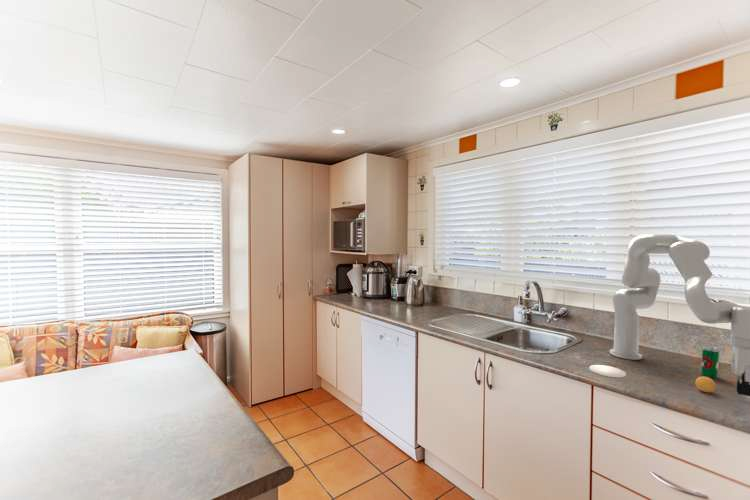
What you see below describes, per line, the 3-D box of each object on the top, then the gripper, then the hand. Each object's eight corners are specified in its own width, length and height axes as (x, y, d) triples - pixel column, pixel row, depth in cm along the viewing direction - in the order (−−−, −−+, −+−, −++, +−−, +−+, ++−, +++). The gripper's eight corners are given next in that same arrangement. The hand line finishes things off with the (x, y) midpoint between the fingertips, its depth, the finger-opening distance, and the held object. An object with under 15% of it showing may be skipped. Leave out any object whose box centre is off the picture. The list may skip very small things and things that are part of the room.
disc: (591, 362, 155) (591, 362, 155) (627, 370, 146) (627, 369, 146) (587, 372, 144) (587, 371, 144) (625, 380, 136) (625, 379, 136)
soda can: (719, 379, 137) (721, 350, 136) (702, 377, 140) (703, 347, 139) (715, 375, 141) (717, 346, 141) (699, 372, 144) (700, 344, 143)
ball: (694, 386, 131) (695, 372, 130) (714, 391, 127) (715, 376, 127) (695, 392, 126) (696, 377, 126) (716, 396, 123) (717, 381, 123)
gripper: (726, 335, 128) (724, 384, 129) (734, 345, 116) (732, 399, 117) (756, 339, 123) (754, 389, 124) (767, 350, 112) (765, 405, 112)
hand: (743, 394), depth 121 cm, fingers closed
